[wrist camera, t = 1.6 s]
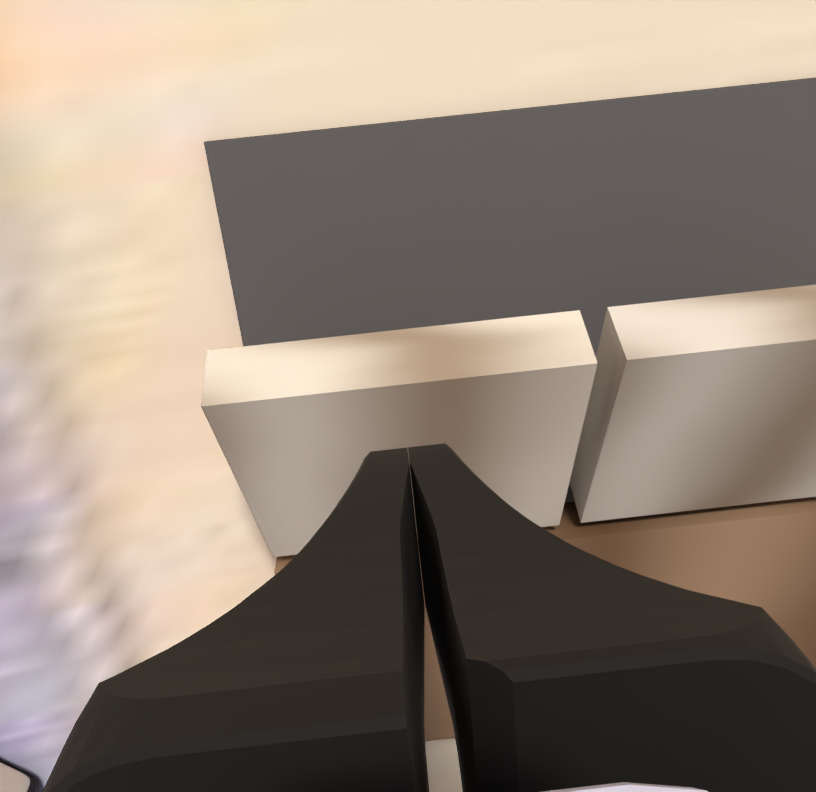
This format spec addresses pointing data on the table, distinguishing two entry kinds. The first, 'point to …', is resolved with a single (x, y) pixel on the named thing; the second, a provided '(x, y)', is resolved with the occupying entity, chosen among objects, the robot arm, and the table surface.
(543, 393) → the plank
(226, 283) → the table surface
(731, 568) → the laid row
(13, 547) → the table surface
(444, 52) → the table surface
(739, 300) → the plank
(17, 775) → the calculator
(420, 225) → the gray rectangular panel
